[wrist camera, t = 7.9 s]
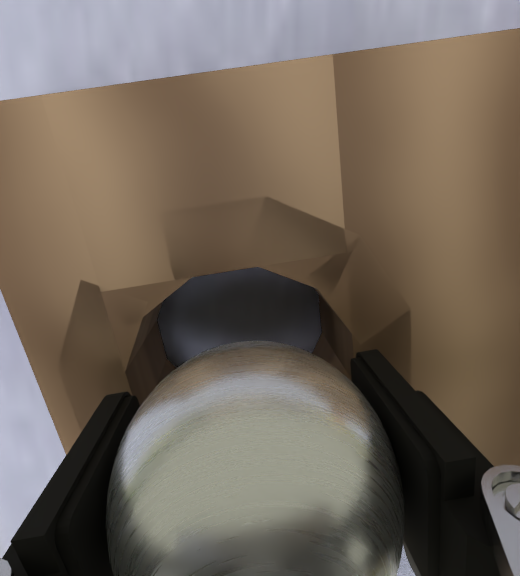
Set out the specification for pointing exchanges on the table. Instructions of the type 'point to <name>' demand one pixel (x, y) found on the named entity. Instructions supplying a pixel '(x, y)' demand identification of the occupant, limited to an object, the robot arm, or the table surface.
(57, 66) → the table surface
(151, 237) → the board
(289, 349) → the steel ball
